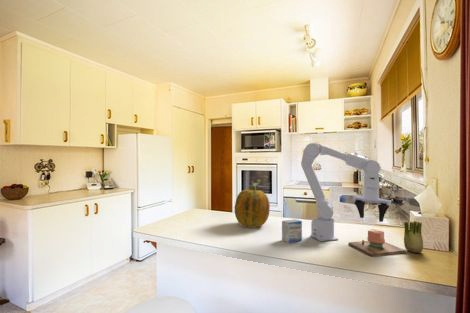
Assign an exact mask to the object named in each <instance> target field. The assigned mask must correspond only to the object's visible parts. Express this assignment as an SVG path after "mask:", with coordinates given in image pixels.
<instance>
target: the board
mask: <svg viewBox="0 0 470 313" xmlns="http://www.w3.org/2000/svg"><path fill="white" fill-rule="evenodd" d="M348 246H350V247H352V248H354V249H355V250H357V251H360V252H362V253H363V254H366V255H368V256H370V257H381V256H387V255H388V256H391V255H400V254H406V253H407V250H406V249H403V248H401V247H398V246H395V245H394V244H391V243H388V242H386V241H385V243H384V244H383V248H374V247H371V246H370V245H369V241H368V240H364V239H362V240H361V241H360V240H359V241H352V242H351V241H349V242H348Z"/></svg>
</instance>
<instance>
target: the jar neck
mask: <svg viewBox="0 0 470 313" xmlns="http://www.w3.org/2000/svg"><path fill="white" fill-rule="evenodd" d="M369 245H370V246H371V247H374V248H383V244H376V243H372V242H369Z"/></svg>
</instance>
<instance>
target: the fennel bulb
mask: <svg viewBox="0 0 470 313" xmlns="http://www.w3.org/2000/svg"><path fill="white" fill-rule="evenodd" d="M403 224H404V232H403V233H404V235H403V244H404V245H403V246H404V248H405V250H406V251H409V252H410V253H415V254H421V253H422V251H423V250H424V239H423V235H422V226H423V222H420V221H417V220H413V221H404V222H403Z"/></svg>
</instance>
